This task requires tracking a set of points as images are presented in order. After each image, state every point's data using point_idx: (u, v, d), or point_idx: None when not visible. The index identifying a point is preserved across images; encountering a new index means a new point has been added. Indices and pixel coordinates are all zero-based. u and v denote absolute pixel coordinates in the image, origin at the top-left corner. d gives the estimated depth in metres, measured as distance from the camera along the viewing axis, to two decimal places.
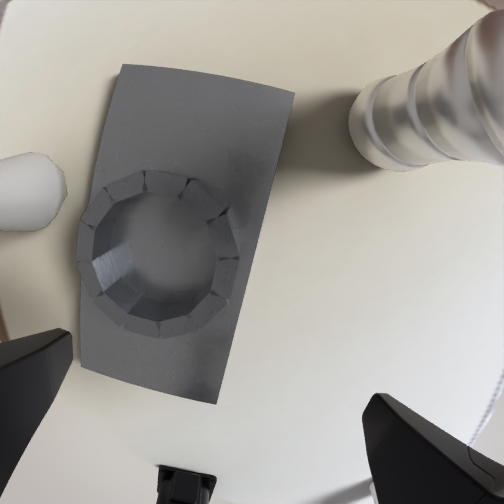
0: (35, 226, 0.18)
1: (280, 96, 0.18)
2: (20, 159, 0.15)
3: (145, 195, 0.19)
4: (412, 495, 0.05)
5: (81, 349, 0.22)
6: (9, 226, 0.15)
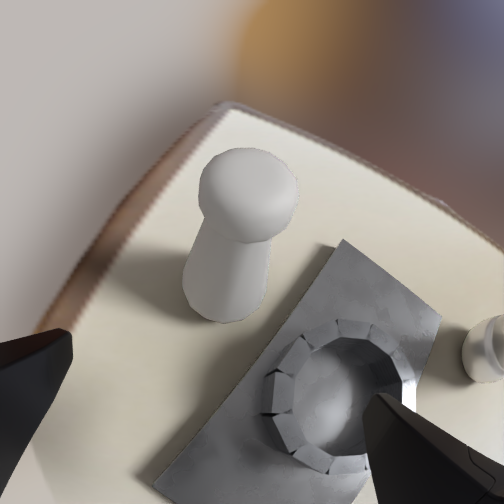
0: (227, 314, 0.19)
1: (434, 316, 0.24)
2: None
3: (335, 349, 0.21)
4: (412, 495, 0.05)
5: (170, 468, 0.15)
6: (234, 289, 0.17)
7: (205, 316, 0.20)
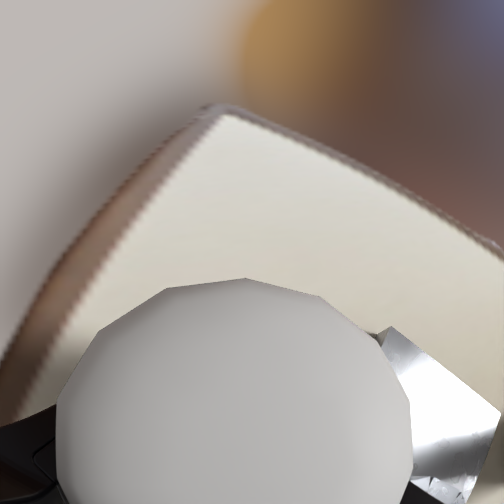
0: None
1: (493, 415, 0.14)
2: None
3: None
4: None
5: None
6: None
7: None
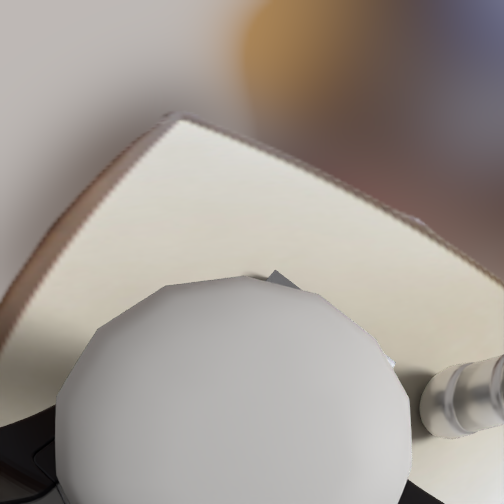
0: None
1: None
2: None
3: None
4: None
5: None
6: None
7: None
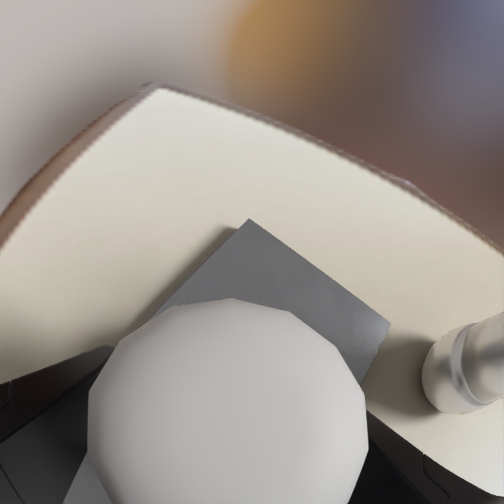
0: None
1: (379, 322, 0.19)
2: None
3: None
4: (359, 503, 0.05)
5: None
6: None
7: None
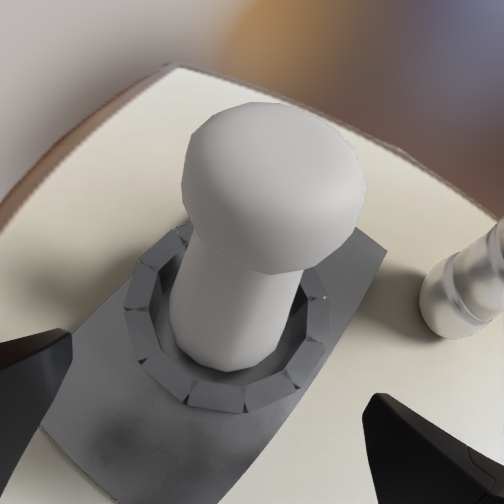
0: (232, 363, 0.13)
1: (376, 248, 0.22)
2: None
3: None
4: (412, 495, 0.05)
5: None
6: (243, 336, 0.11)
7: (200, 363, 0.13)
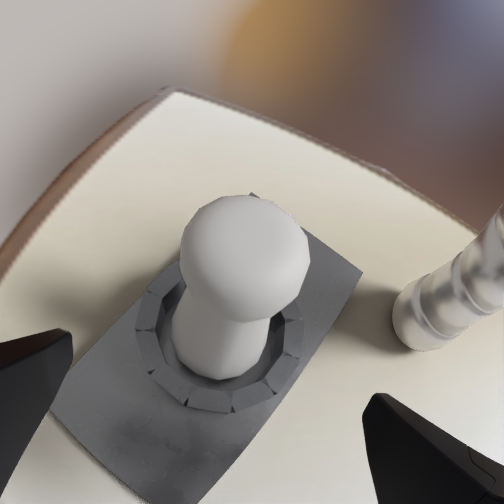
0: (222, 373, 0.16)
1: (353, 270, 0.25)
2: None
3: None
4: (412, 495, 0.05)
5: None
6: (229, 355, 0.14)
7: (197, 373, 0.17)
